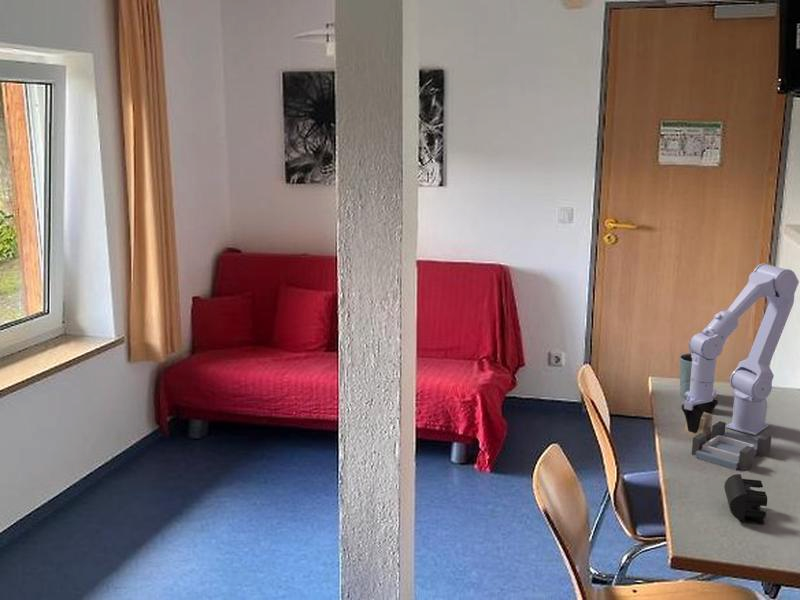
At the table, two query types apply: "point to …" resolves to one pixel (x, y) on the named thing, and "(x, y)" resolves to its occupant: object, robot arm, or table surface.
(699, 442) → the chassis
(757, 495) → the end cap
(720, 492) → the table surface
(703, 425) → the block
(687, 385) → the grey-green cup
